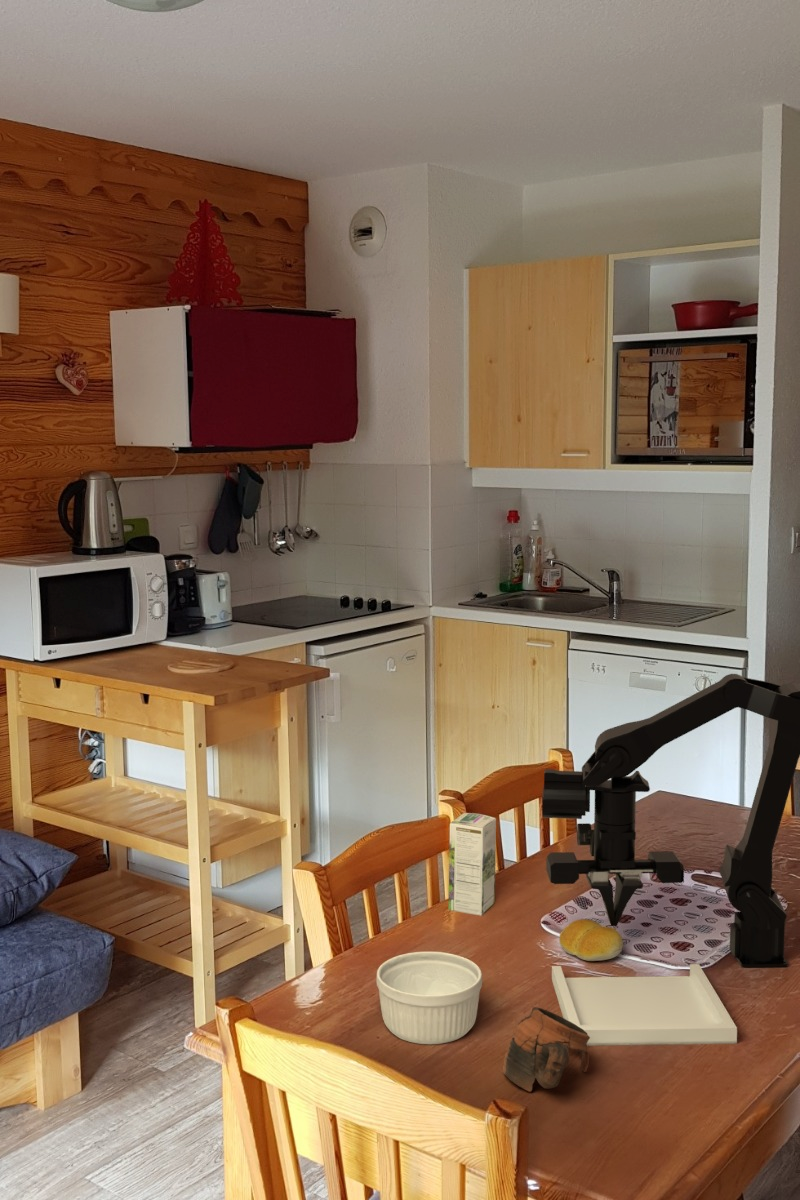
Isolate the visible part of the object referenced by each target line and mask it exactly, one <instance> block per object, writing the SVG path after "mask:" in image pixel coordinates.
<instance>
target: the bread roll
mask: <svg viewBox="0 0 800 1200" xmlns="http://www.w3.org/2000/svg"><path fill="white" fill-rule="evenodd" d="M558 940H559V944H560V947H561V948H562V950H564V952H565V953H567V954H569V955H572V956H576V957H577V958H579V959H581V960H583V961H586V962H587V961H588V962H595V961H606V960H610V959H613V958H615V957H617V956H619V955H620V954H621V952H622V950H623V947H624V946H623V945H624V944H623V943H624V941H623V938H622V935H621V934H620V933H619V931H618V930H617V929H615V928H613V927H610V926H603V925H602V924H600V923H599V922H597V921H594V920H592V919H589V918H581V919H575V920H574V921H572V922H571V923H569V924H567V926H565V927H564V929H563V930H562V931H561V932H560V933H559V939H558Z"/></svg>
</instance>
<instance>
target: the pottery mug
mask: <svg viewBox="0 0 800 1200" xmlns="http://www.w3.org/2000/svg"><path fill="white" fill-rule="evenodd" d="M589 1039H590V1037H589V1036H588V1035H587V1033H586V1032H585V1031H584V1030H583V1029H581V1028H580V1027H578V1026H577V1025H575V1024H573V1023H572V1022H570V1021H568V1020H566V1019H564V1018H563V1016H560V1015H558V1014H556V1013H553V1012H552V1011H549V1010H547V1009H544V1008H540V1007H536V1006H535V1007H532V1009H531V1012H530V1015H528V1016H525V1017H524V1018H523V1019H521V1020H520V1021H519V1022H518V1023H517V1025H516V1026H515V1029H514V1030H513V1037H512V1038H511V1041H510V1046H509V1048H508V1051H506V1052H505V1054H504V1057H503V1059H504V1061H503V1067H502V1073H503V1074H504V1076H506V1078H508V1079H509V1081H511V1082H512V1083H513V1084H515V1085H516V1086H517V1087H520V1088H521V1089H522V1090H525V1091H527V1092H529V1093H531V1092H532V1091H533V1087H534V1084H535V1082H536V1081H537V1083H538V1084H539V1085H540V1086H541V1087H542V1088H544V1089H548V1090H549V1089H554V1088H557V1087H558V1086H559V1084H560V1082H561V1080H562V1075H563V1073H564V1071H565V1069H566V1068H567V1064H568V1062H569V1061H570V1051H569V1050H570V1049H571V1050H576V1051H577V1052H578V1054H579V1055H580V1057H581V1063H580V1071H581V1072H587V1070H588V1067H589V1063H590V1062H589V1061H590V1053H589V1049H588V1046H587V1042H588V1040H589ZM566 1044H568V1046H567V1045H566ZM538 1046H539V1047H541V1052H540V1053H537V1047H538Z"/></svg>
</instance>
